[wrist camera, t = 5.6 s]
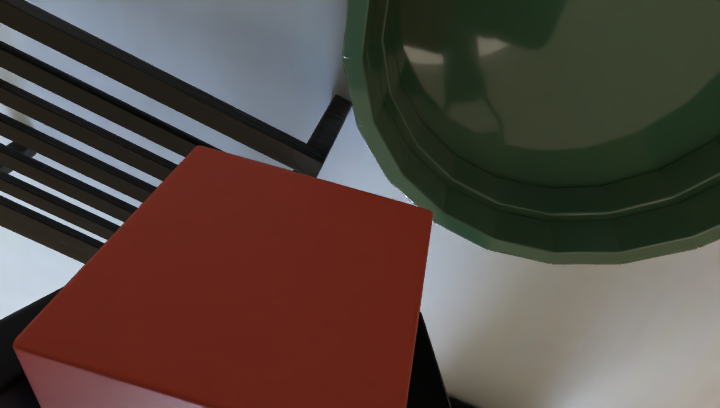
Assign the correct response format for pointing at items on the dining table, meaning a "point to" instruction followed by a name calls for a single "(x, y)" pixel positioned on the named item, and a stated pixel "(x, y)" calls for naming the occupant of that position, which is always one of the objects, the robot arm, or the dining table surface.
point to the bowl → (546, 120)
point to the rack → (9, 7)
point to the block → (239, 298)
